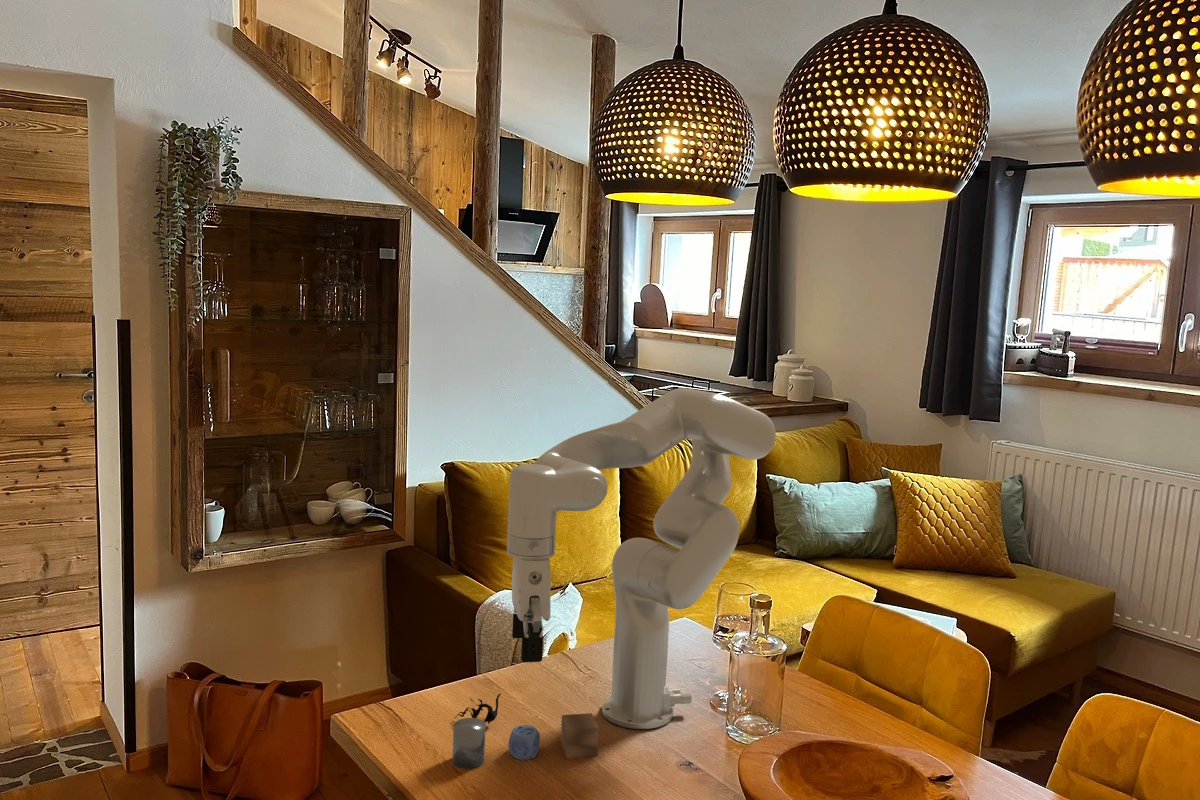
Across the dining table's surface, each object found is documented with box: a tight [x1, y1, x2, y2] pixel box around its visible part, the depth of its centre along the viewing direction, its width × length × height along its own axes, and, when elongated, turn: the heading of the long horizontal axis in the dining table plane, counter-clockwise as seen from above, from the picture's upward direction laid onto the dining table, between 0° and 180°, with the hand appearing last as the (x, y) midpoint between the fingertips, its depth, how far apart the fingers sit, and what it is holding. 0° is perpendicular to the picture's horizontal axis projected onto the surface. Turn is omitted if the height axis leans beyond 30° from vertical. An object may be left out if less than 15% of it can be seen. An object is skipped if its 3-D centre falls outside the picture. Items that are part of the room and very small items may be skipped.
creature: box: [454, 692, 502, 725], centre depth 160 cm, size 8×5×8 cm
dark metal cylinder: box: [451, 717, 486, 770], centre depth 148 cm, size 5×5×6 cm
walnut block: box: [560, 712, 599, 760], centre depth 153 cm, size 5×5×5 cm
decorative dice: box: [508, 724, 541, 761], centre depth 151 cm, size 4×4×4 cm
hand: (526, 649), depth 149 cm, fingers open, 9 cm apart
